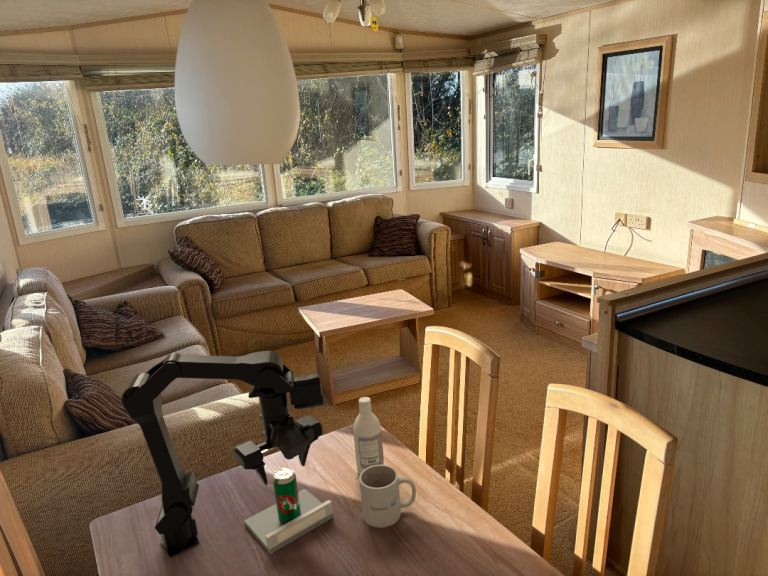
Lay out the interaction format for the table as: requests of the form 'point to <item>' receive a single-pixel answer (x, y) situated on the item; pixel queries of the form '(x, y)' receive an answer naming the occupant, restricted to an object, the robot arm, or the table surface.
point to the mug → (382, 495)
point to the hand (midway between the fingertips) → (284, 474)
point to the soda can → (286, 495)
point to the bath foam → (367, 437)
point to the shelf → (279, 534)
